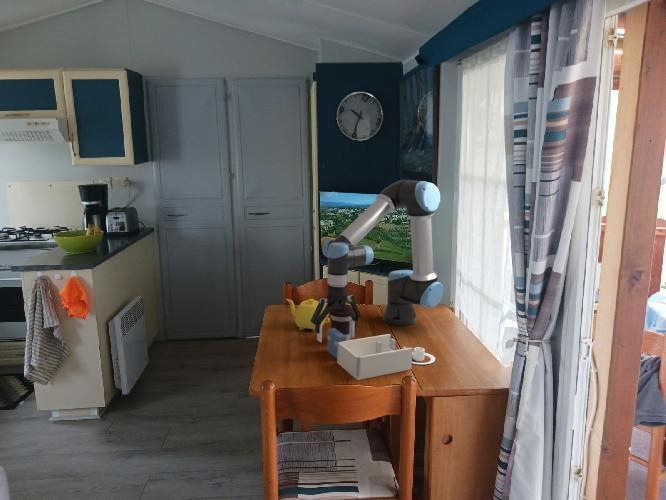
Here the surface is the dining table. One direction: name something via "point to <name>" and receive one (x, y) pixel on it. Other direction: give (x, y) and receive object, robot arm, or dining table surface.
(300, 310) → the teapot
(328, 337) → the blue flat block
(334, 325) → the coffee cup
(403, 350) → the box
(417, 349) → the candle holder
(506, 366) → the dining table surface
